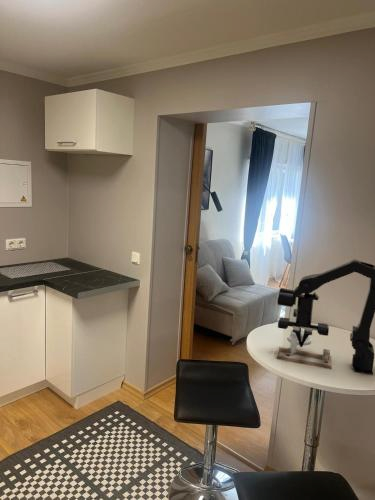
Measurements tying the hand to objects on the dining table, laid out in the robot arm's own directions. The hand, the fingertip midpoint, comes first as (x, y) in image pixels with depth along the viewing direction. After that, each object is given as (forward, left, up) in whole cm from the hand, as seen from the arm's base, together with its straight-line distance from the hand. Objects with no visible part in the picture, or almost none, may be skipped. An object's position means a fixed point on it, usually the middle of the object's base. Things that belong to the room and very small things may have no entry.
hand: (301, 346), depth 147 cm
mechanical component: (+1, -17, -5) cm, 17 cm away
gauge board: (-2, +2, -4) cm, 5 cm away
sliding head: (+3, +2, -3) cm, 4 cm away
